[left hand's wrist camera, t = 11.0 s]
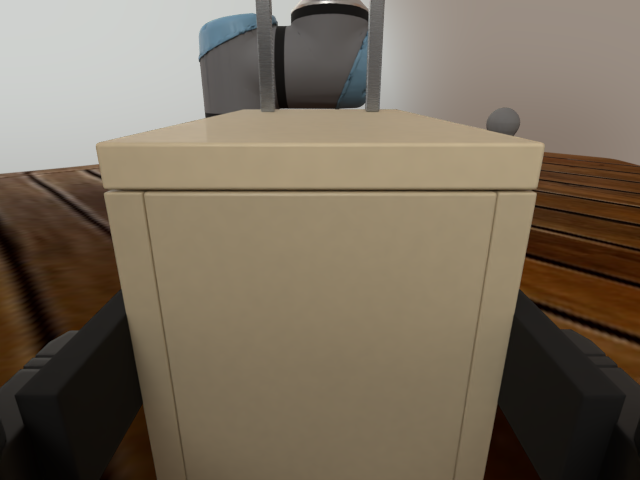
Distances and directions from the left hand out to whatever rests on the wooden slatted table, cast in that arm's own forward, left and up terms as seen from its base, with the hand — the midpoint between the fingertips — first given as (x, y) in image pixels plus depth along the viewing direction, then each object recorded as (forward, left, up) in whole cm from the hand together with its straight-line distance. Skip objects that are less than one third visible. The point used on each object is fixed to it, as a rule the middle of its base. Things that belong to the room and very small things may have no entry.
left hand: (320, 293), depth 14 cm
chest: (-3, +3, -7) cm, 8 cm away
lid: (-4, +3, +4) cm, 7 cm away
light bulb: (-26, +74, -7) cm, 79 cm away
